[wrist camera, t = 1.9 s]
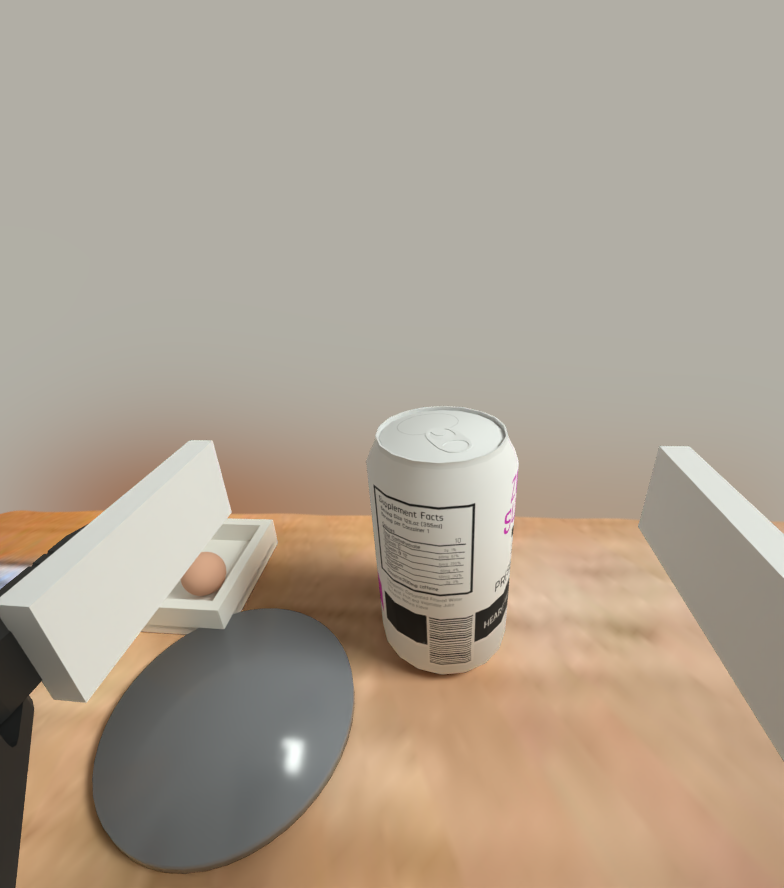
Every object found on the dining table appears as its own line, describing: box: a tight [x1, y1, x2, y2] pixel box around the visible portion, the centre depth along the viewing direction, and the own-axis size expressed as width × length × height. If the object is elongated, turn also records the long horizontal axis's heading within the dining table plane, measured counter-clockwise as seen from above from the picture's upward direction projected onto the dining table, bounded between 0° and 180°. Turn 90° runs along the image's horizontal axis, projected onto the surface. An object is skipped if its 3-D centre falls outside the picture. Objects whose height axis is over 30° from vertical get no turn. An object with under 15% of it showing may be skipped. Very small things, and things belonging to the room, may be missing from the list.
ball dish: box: [141, 519, 278, 635], centre depth 34 cm, size 10×10×3 cm
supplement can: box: [366, 406, 519, 674], centre depth 26 cm, size 8×8×15 cm
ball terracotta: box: [180, 552, 226, 596], centre depth 32 cm, size 3×3×3 cm
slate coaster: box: [92, 608, 354, 874], centre depth 25 cm, size 14×14×1 cm
